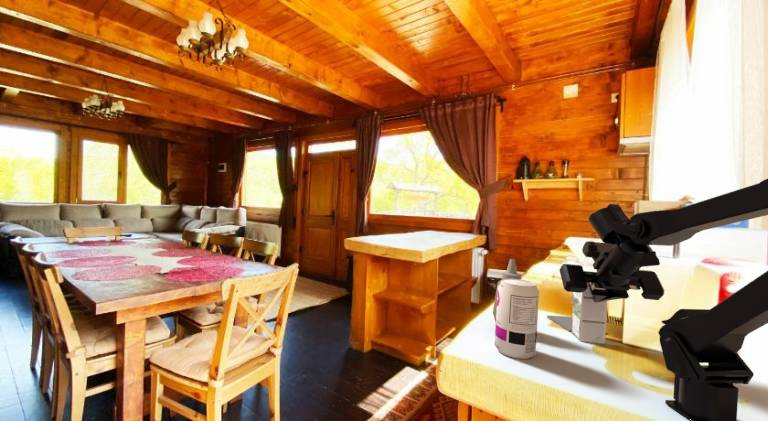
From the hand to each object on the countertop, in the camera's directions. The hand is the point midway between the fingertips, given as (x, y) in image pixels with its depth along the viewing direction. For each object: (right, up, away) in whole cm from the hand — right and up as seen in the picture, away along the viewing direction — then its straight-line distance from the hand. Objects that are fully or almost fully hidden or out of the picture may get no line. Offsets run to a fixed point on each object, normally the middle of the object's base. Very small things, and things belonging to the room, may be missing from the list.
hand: (595, 300), depth 76 cm
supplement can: (-22, -9, -7) cm, 25 cm away
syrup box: (0, -10, +3) cm, 11 cm away
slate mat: (+3, -10, +12) cm, 17 cm away
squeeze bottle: (-18, -9, +7) cm, 21 cm away
